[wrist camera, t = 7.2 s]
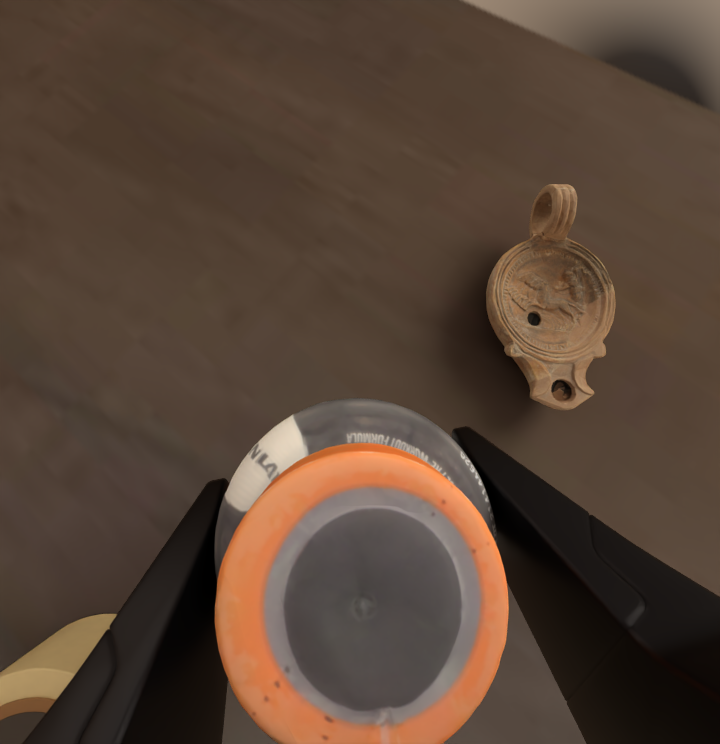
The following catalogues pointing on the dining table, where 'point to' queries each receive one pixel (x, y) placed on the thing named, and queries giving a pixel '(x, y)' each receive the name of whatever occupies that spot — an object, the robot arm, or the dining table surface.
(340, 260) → the dining table surface
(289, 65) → the dining table surface
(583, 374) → the oil lamp
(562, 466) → the dining table surface
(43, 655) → the tape roll
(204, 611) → the robot arm
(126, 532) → the dining table surface
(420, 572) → the pill bottle
